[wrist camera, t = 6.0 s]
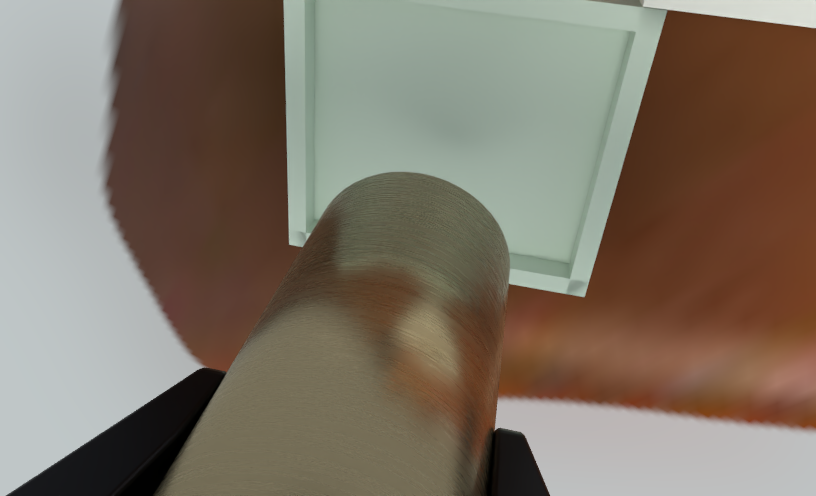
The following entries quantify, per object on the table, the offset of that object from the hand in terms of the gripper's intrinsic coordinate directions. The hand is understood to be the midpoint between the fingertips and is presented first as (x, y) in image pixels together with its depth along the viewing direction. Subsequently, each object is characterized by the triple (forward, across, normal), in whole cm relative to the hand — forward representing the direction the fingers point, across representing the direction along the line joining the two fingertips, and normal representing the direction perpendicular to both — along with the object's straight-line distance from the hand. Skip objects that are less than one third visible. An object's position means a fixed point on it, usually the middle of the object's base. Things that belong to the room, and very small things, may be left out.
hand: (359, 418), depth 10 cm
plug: (+4, 0, 0) cm, 4 cm away
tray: (+13, 0, 0) cm, 13 cm away
